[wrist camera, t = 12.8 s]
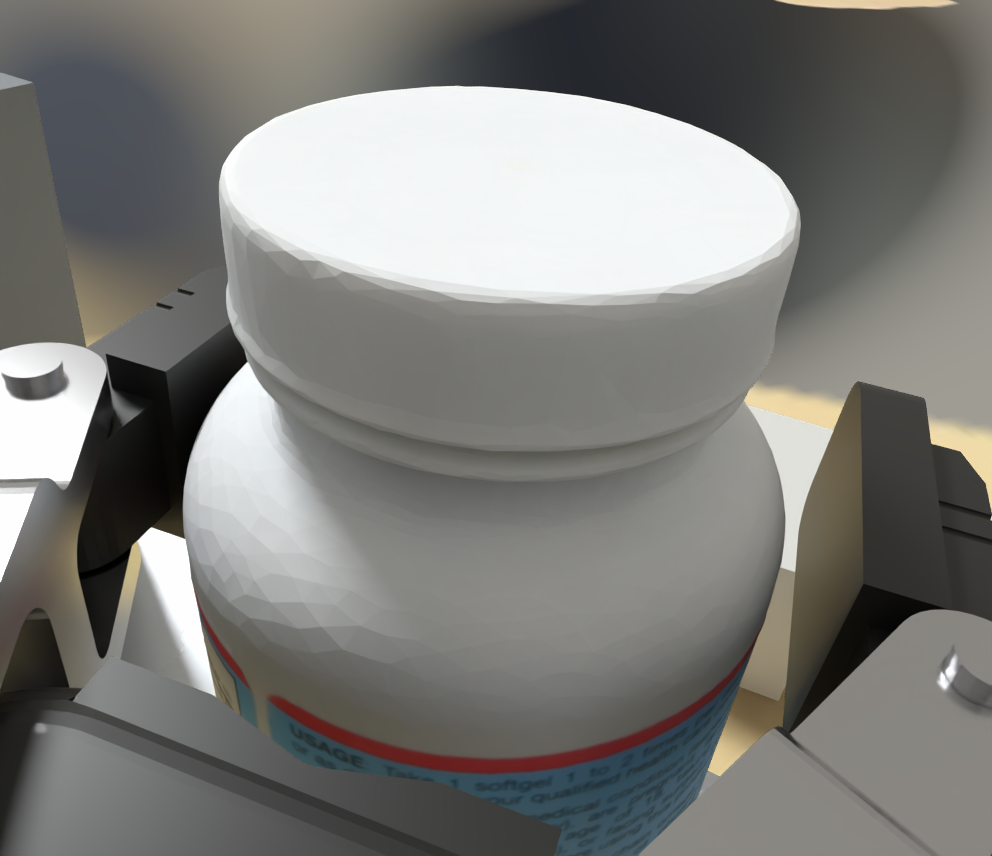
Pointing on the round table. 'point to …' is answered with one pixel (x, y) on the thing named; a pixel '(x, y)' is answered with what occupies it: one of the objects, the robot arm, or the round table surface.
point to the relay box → (797, 466)
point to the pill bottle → (494, 448)
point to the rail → (178, 618)
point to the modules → (31, 231)
